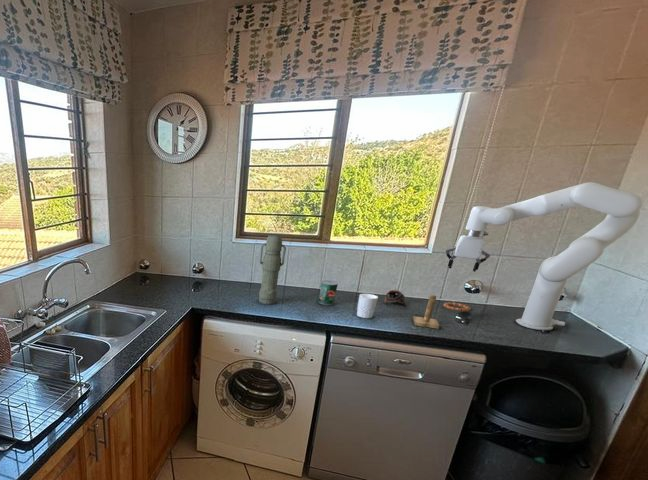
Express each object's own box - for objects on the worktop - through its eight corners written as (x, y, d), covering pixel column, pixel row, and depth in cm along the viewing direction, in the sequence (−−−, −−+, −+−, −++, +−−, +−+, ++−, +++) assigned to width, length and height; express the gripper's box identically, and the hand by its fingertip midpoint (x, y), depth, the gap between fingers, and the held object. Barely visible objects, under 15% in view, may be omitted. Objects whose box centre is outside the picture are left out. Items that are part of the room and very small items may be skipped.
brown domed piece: (409, 307, 206) (407, 295, 202) (389, 314, 209) (387, 302, 205) (399, 295, 216) (397, 283, 212) (380, 301, 219) (377, 290, 215)
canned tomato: (331, 306, 206) (335, 285, 202) (316, 303, 211) (319, 282, 207) (335, 302, 212) (339, 282, 208) (320, 299, 217) (323, 279, 213)
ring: (467, 307, 206) (468, 304, 205) (472, 314, 196) (473, 310, 195) (441, 304, 210) (442, 300, 209) (444, 310, 201) (445, 307, 200)
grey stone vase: (279, 305, 207) (288, 236, 194) (255, 303, 210) (263, 235, 197) (278, 300, 215) (287, 234, 202) (255, 298, 218) (263, 233, 205)
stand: (435, 322, 185) (443, 294, 180) (438, 328, 178) (447, 299, 173) (412, 319, 189) (420, 291, 184) (415, 325, 181) (422, 296, 176)
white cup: (363, 319, 188) (368, 299, 184) (351, 314, 195) (355, 294, 191) (377, 318, 190) (382, 297, 186) (364, 312, 197) (369, 293, 193)
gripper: (495, 234, 187) (482, 270, 193) (450, 230, 195) (439, 265, 201) (498, 237, 181) (485, 274, 187) (452, 232, 189) (440, 268, 195)
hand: (461, 269), depth 194 cm, fingers open, 9 cm apart
